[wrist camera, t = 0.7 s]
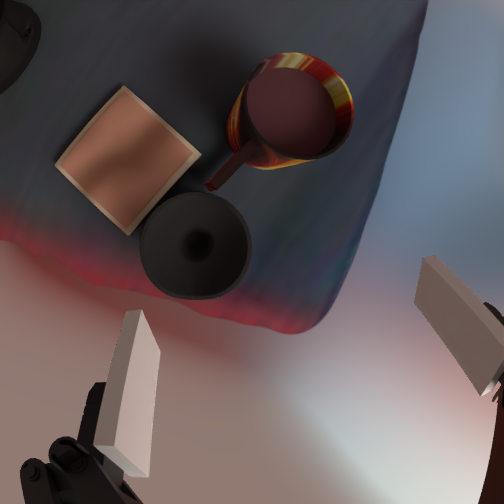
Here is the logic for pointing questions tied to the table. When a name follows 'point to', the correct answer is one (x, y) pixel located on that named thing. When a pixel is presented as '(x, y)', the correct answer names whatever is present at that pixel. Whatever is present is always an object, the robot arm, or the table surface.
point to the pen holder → (195, 246)
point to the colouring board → (126, 159)
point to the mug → (287, 115)
